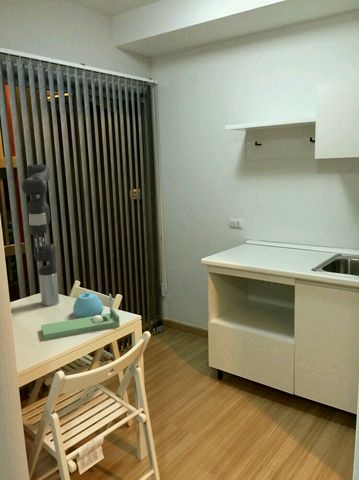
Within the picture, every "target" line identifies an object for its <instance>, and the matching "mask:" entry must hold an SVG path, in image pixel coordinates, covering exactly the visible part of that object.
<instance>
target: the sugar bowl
mask: <svg viewBox="0 0 359 480" xmlns="http://www.w3.org/2000/svg"><path fill="white" fill-rule="evenodd" d="M72 309H73V310H72V312H73V314H74V315H75V316H76V317H77V318H78V319H79V318H85V317H91V316H96V315H102V312H103V311H104V306H103V302H102V300H101V299H100V297H99V296H98V295H97V294H96V293H94V292H93V293H92V292H90V291H85V292H84V293H81V294H79V295H78V296H77V298H76V300H75V301H74V304H73V307H72Z"/></svg>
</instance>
